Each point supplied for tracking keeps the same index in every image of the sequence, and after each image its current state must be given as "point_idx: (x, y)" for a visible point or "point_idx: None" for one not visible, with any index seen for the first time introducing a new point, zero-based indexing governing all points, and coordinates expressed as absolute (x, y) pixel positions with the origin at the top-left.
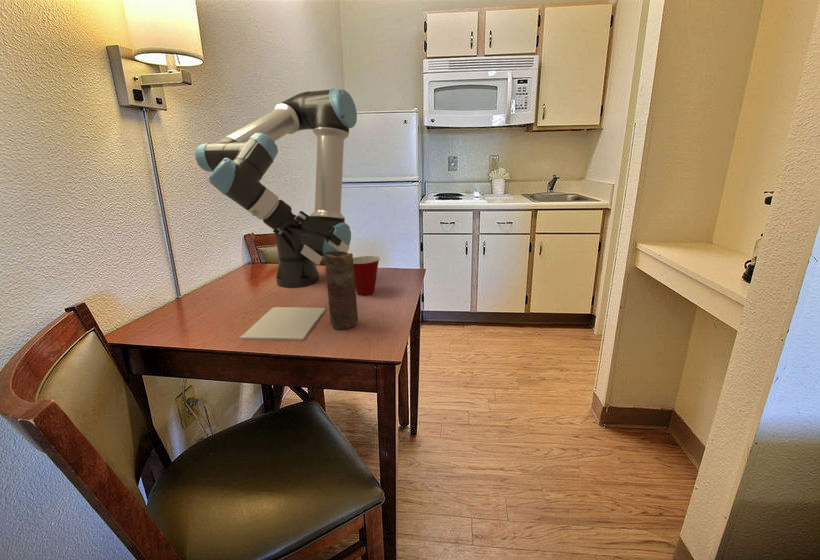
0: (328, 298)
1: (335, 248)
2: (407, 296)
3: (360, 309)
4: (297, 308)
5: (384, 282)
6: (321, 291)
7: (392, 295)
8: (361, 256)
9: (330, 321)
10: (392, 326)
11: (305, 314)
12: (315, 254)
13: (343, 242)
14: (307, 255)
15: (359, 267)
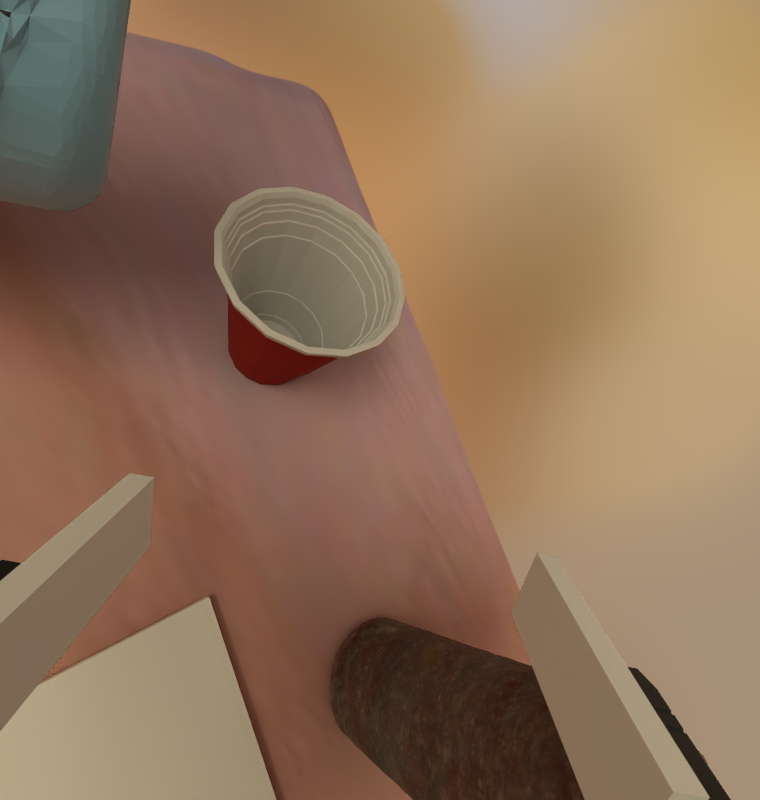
0: (404, 790)
1: (550, 709)
2: (411, 350)
3: (342, 515)
4: (38, 702)
5: None
6: (7, 379)
7: (368, 352)
8: (260, 193)
9: (344, 733)
10: (489, 587)
11: (155, 734)
12: (103, 543)
13: (591, 611)
14: (43, 669)
15: (333, 357)
